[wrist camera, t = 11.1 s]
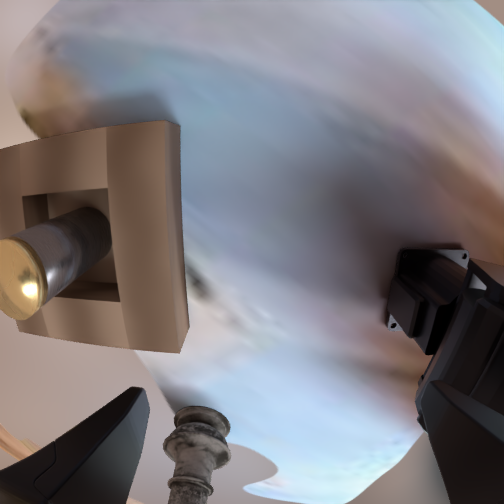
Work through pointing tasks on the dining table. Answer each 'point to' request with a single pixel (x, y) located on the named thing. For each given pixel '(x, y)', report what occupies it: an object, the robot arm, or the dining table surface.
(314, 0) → the dining table surface
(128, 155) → the holder block
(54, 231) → the battery cell
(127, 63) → the dining table surface
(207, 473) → the weathered candle holder
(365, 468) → the dining table surface
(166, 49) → the dining table surface
